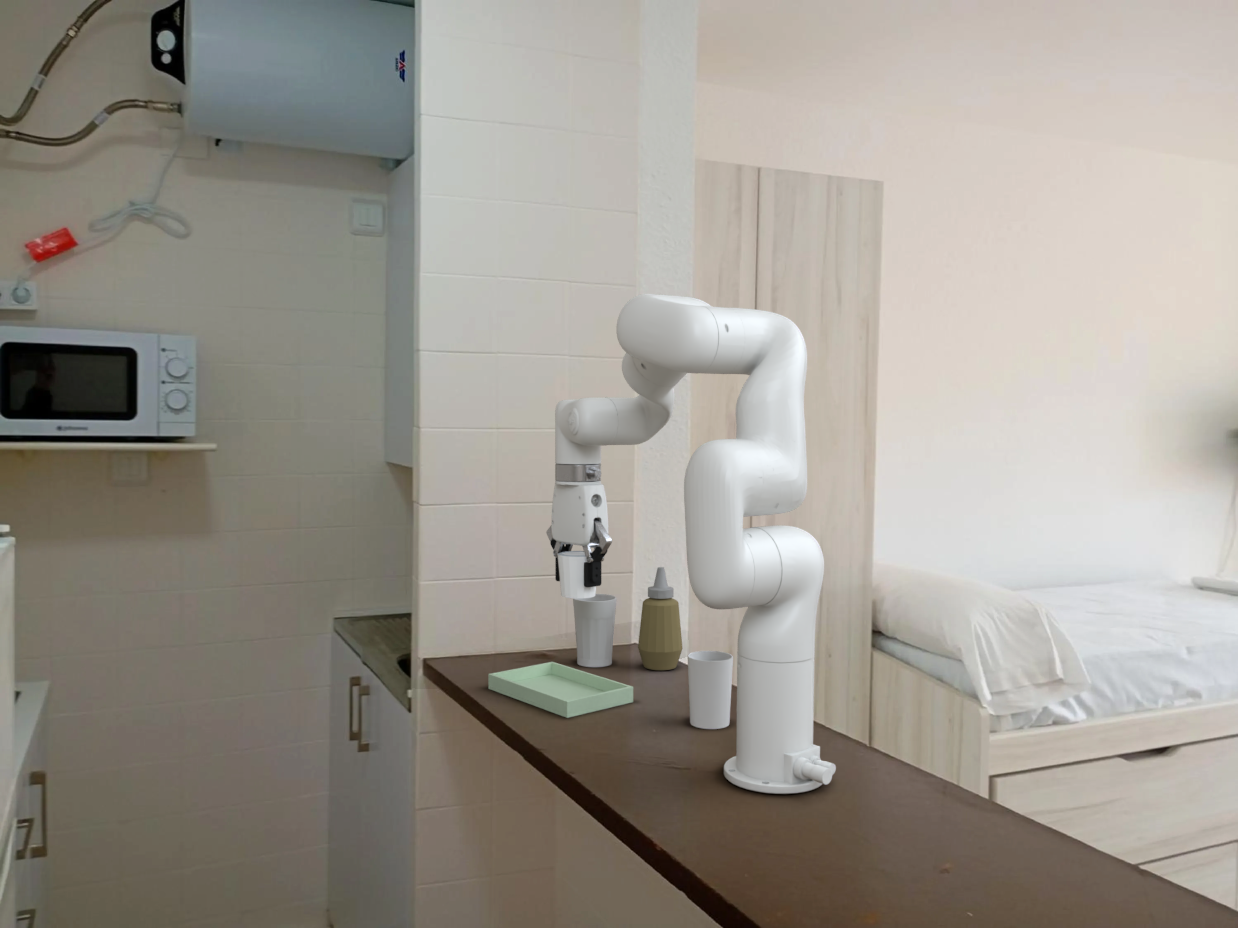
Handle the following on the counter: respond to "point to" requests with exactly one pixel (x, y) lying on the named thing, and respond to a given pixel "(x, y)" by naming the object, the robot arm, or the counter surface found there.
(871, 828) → the counter surface
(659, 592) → the squeeze bottle
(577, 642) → the cup
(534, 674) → the tray
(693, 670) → the white tumbler
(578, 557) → the white tapered cup
